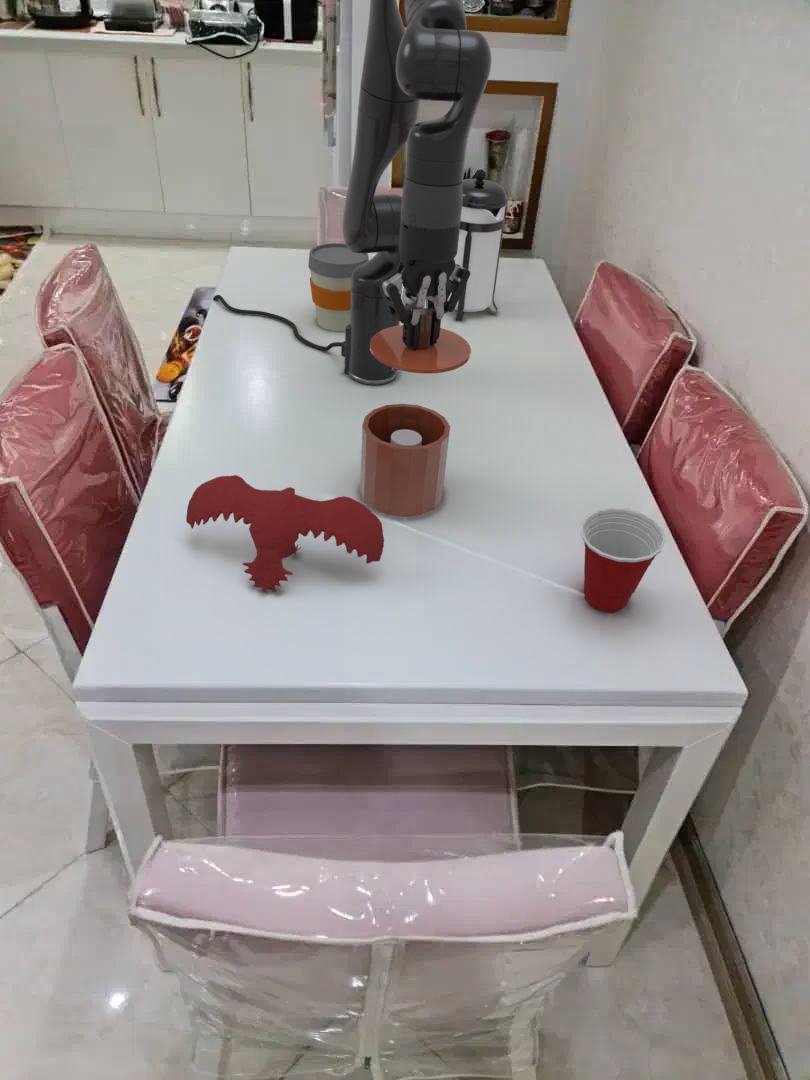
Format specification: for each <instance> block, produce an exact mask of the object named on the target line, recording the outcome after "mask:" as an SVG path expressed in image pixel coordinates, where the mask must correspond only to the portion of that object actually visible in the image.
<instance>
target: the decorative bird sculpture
mask: <svg viewBox="0 0 810 1080" xmlns="http://www.w3.org/2000/svg"><path fill="white" fill-rule="evenodd" d="M186 509H187V510H186V517H185V518H186V520H185V522H186V523H187V524H188V525H189V526H190V529H193V530H194V527H195V524H196V525H197V526H200V524H201V523H202V525H206V524H207V523H208V522H209V520H210V519H211V520H212V521H213V522H214V523H215V522H216V521H217V520H218V519H219V517H220V516H221V515H222V516H223V517H222V518H223V520H224V521H225V522H228V521H229V518H230V517H231V514H232V515H233V521H234V522H235V524H236V523H238V522H239V521H240V520H242V523H243V524H244V525H249V528H248V531H249V534H250V537H251V539H252V541H253V545H254V548H255V550H256V556H255V557H254V559H253V561H251V562H242V566H245V567H247V568H245V569H244V570H243V572H244V573H245V574H249V575H251V576H250V578H249V579H248V581H251V582H254V583H253V585H252V587H253V588H259V589H261V593H263V594H265V593H266V591H267V590H268V591H271V592H277V589H276V587H278V588H281V586H282V585H281V583H280V582H281V581H282V582H283V581H284V582H288V581H289V580H288V577H287V576H294V573H293V572H292V571H290V570H287V569H285V568H284V566H283V559H286V558H289V557H291V556H292V555H296V554H297V552H298V551H299V550H300V549H301V548H302V546H300V547H298V546H299V544H297V545H296V543H297V541H298V539H299V537H300V536H299V535H301V536H303V537H307V536H308V535H309V532H311V533H312V536H313V538H314V539H317V538H318V537H319V536H320V535H321V534H322V533H323V541H324V542H327V541H329V540H330V539H331V538H332V537H334V539H335V546H336V547H340V546H342V545H343V544H344V546H345V551H346V552H347V554H350V555H351V554H352V553H353V551H354V550H355V551H356V555H357V557H358V558H362V557H363V556H366V560H365V561H366V563H365V564H367V565H368V564H371V563H372V562H380V561H381V558H382V555H383V552H384V548H385V547H384V546H385V538H384V530H383V524H382V522H381V520H380V519H379V516H377V515H376V514H375V513H373V512H372V511H371V510H370V509H369V508H368V507H367V506H366V505H365V504H363V503H362V502H359V501H358V500H356V499H353V498H351V497H349V496H344V495H343V496H338V497H335V498H332V499H326V500H317V499H311V498H308V497H304V496H302V495H299V494H296V490H295V488H294V487H291V486H290V487H286V488H283V489H281V490H278V489H273V490H272V489H271V490H269V489H258V488H255V487H253V486H251V485H250V484H249V483H248V482H246V480H245V479H244V478H243V477H241V476H239V475H237V474H234V475H222V476H216V477H214V478H212V479H210V480H207V481H205V482H203V483H201V484H200V485H199V486H198V487H196V489H195V490H194V492H193V493H192V496H191V497H190V499H189V501H188V504H187V508H186ZM286 575H287V576H286Z"/></svg>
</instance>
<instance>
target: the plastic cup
mask: <svg viewBox="0 0 810 1080" xmlns="http://www.w3.org/2000/svg"><path fill="white" fill-rule="evenodd" d="M579 527H580V528H579V529H580V537H581V539H582V541H583V543H584V564H583V565H584V568H583V576H584V580H583V581H584V582H583V594H584V600H585V601H586V603H587V604H588V605H589V606H591V608H593V609H594V610H597V611H598V612H602V613H608V614H609V613H610V614H612V613H618V612H619V611H621V610H623V609H624V608H625V607H626V606H627V604H628V602H629V600H630V599H631V597H632V595H633V594H634V593H635V592H636V590H637V588H638V586H639V584H640V583H641V581H642V579H643V577H644V576H645V574H646V572H647V570H648V569H649V567H650V566H651V564H652V562H653V561H654V560H655V558H656V557H657V555H659V554H660V553H661V552H662V551H663V549H664V546H665V544H666V542H667V536H666V533H665V529H664V528H663V527H662V526H661V525H660V524H659V523H658V521H657V520H656V519H654V518H652V517H651V516H649V515H647V514H645V513H643V512H641V511H637V510H634V509H631V508H627V507H607V508H602V509H597V510H594V511H593V512H591V513H590V514H588V515H586V516H585V517H584V518H583V520H582V521H581V524H580V525H579Z"/></svg>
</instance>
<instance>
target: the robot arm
mask: <svg viewBox="0 0 810 1080" xmlns="http://www.w3.org/2000/svg"><path fill="white" fill-rule="evenodd" d="M403 10H404V18H405V26H406V27H405V26H404V22H403V18H402V16H401V13H400V8H399V4H398V1H397V0H370V1H369V15H368V25H367V34H366V43H365V48H364V49H365V50H364V56H363V65H362V72H361V78H360V87H359V96H358V108H357V118H356V119H357V121H356V131H355V140H354V141H355V142H354V151H353V157H352V164H351V169H350V176H349V181H348V185H347V191H346V194H345V195H346V196H345V201H344V209H343V215H342V235H343V241H344V244H346V246H347V247H348V249H349V250H350V251H352V252H354V253H368V254H372V253H375V255H374V256H373V257H372V258H371V259H369V261H367V262H366V263H364V264H362V265H360V266H358V267H357V268H355V269H354V270H353V272H352V275H351V305H350V324H349V325H348V326H346V329H345V331H344V333H345V334H344V335H345V336H344V341H334V342H331V343H329V344H328V345H327V346H323V345H319V344H316V343H314V342H311V341H309V340H308V339H306V338H304V337H303V336H302V335H300V332H299V331H298V328H297V325H296V324H295V323H294V322H293V321H291V320H290V319H288V318H286V317H283V316H280V315H279V314H274V313H271V312H267V311H261V310H252V309H242V308H241V309H240V308H237V307H233V306H231V305H229V303H227V301H226V300H225V299H224V297H223V296H222V295H221V294H216V295H214V297H213V298H212V300H213V301H217V300H219V301H220V303H221V304H222V306H224V308H226V309H227V310H228V311H230V312H232V313H236V314H243V315H256V316H263V317H267V318H271V319H275V320H277V321H281V322H283V323H285V324H286V325H288V326H290V327H291V328H292V330H293V334H294V336H295V337H296V339H297V340H299V341H300V342H301V343H303V344H304V345H306V346H308V347H309V348H312V349H315V350H318V351H324V352H327V351H330V350H331V349H333V348H335V347H340V349H341V350H340V351H341V352H340V354H341V355H340V356H341V357H344V374H346V375H349V377H350V378H351V379H352V380H354V381H355V382H358V383H360V384H365V385H383V384H388V383H391V382H392V381H394V380H395V379H396V377H397V374H398V369H394V368H392V367H389V366H387V365H385V364H383V363H381V362H380V361H378V360H377V359H376V358H375V357H374V356H373V355H372V353H371V351H370V341H371V339H372V337H373V336H374V335H375V334H376V333H378V332H379V331H381V330H383V329H386V328H389V327H393V326H399V325H400V323H402V325H403V336H402V340H403V343H405V345H406V346H407V347H408V348H410V349H411V350H414V349H417V348H418V338H419V325H420V324H418V322H419V317H420V312H421V309H422V308H428V309H430V310H432V311H433V318H432V329H431V340H430V345H434V344H436V343H437V339H438V338H439V335H440V328H441V324H442V319H443V318H444V316H445V314H447V313H452V312H454V311H455V310H454V309H455V307H456V304H457V302H458V300H459V298H460V296H461V294H462V292H463V289H464V287H465V285H466V283H467V281H468V279H469V276H470V271H469V270H467V269H465V268H463V267H462V266H460V265H458V264H455V260H454V258H455V256H456V255H457V250H458V240H459V231H460V221H461V212H462V201H463V191H462V184H463V181H462V180H464V171H465V161H466V153H467V145H468V141H469V137H470V133H471V129H472V126H473V123H474V120H475V119H474V118H475V116H476V113H477V110H478V108H479V105H480V102H481V99H482V98H483V95H484V92H485V89H486V87H487V84H488V81H489V78H490V74H491V68H492V52H491V48H490V45H489V42H488V40H487V39H486V37H485V36H484V34H482V33H481V32H479V31H476V30H470V29H467V27H468V25H467V17H466V12H465V6H464V1H463V0H404V1H403ZM421 101H431V102H432V101H433V102H453V103H452V105H451V107H450V109H449V110H448V111H447V112H446V114H444V115H442V116H440V117H438V118H435V119H430V120H424V121H420V122H417V121H418V117H419V116H418V115H419V109H420V104H421V103H420V102H421ZM405 145H406V159H405V172H404V173H405V174H404V184H403V188H402V192H401V195H399V194H396V193H388V194H376V192H377V191H376V190H377V187H378V185H379V182H380V180H381V178H382V176H383V174H384V172H385V171H386V169H387V168H388V167H389V165H390V164H391V163H392V161H394V159H395V158H396V156H397V155H398V154H399V152H400V151H402V149H403V147H404V146H405ZM402 287H403V288H402ZM402 289H403V290H402ZM451 292H452V295H451V297H450V299H449V301H448V298H449V296H450V294H451Z"/></svg>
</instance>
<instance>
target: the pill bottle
mask: <svg viewBox="0 0 810 1080" xmlns="http://www.w3.org/2000/svg"><path fill="white" fill-rule="evenodd" d="M390 443H391V444H393V445H399V446H408V447H413V446H422V437H421V435H420V434H419V433H417V432H415V431H412V430H397V431H395V432H393V433H392V435H391V441H390Z"/></svg>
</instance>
